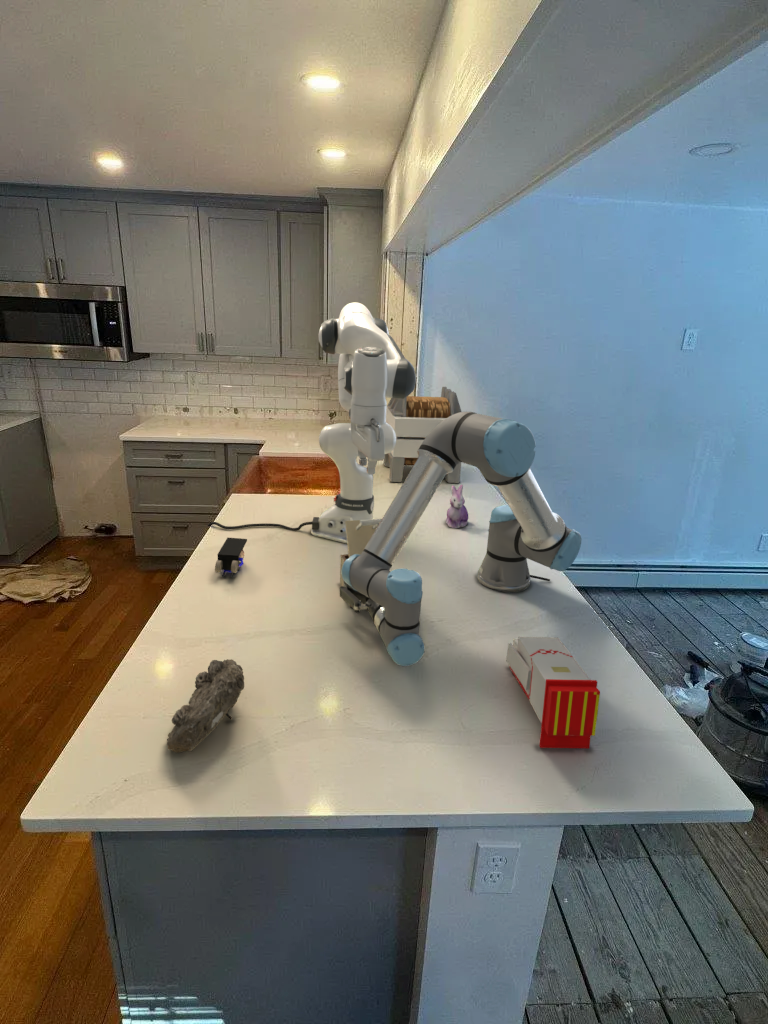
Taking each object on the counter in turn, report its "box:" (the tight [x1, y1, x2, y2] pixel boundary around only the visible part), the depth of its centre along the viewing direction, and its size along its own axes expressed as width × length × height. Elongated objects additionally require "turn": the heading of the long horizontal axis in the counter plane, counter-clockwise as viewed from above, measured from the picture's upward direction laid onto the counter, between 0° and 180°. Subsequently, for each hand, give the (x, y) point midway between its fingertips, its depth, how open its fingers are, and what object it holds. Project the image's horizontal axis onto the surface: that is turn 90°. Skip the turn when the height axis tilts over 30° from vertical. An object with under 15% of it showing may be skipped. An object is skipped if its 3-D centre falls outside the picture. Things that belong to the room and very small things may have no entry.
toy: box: [505, 636, 601, 749], centre depth 115 cm, size 12×13×30 cm
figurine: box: [445, 484, 469, 529], centre depth 209 cm, size 9×10×15 cm
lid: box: [345, 518, 382, 557], centre depth 146 cm, size 14×10×8 cm
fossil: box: [166, 658, 245, 754], centre depth 106 cm, size 22×10×15 cm
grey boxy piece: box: [383, 386, 462, 484], centre depth 268 cm, size 34×33×41 cm
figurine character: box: [214, 537, 248, 578], centre depth 166 cm, size 7×8×15 cm
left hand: (366, 469), depth 145 cm, fingers open, 7 cm apart
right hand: (365, 575), depth 152 cm, fingers closed on chest, 10 cm apart
